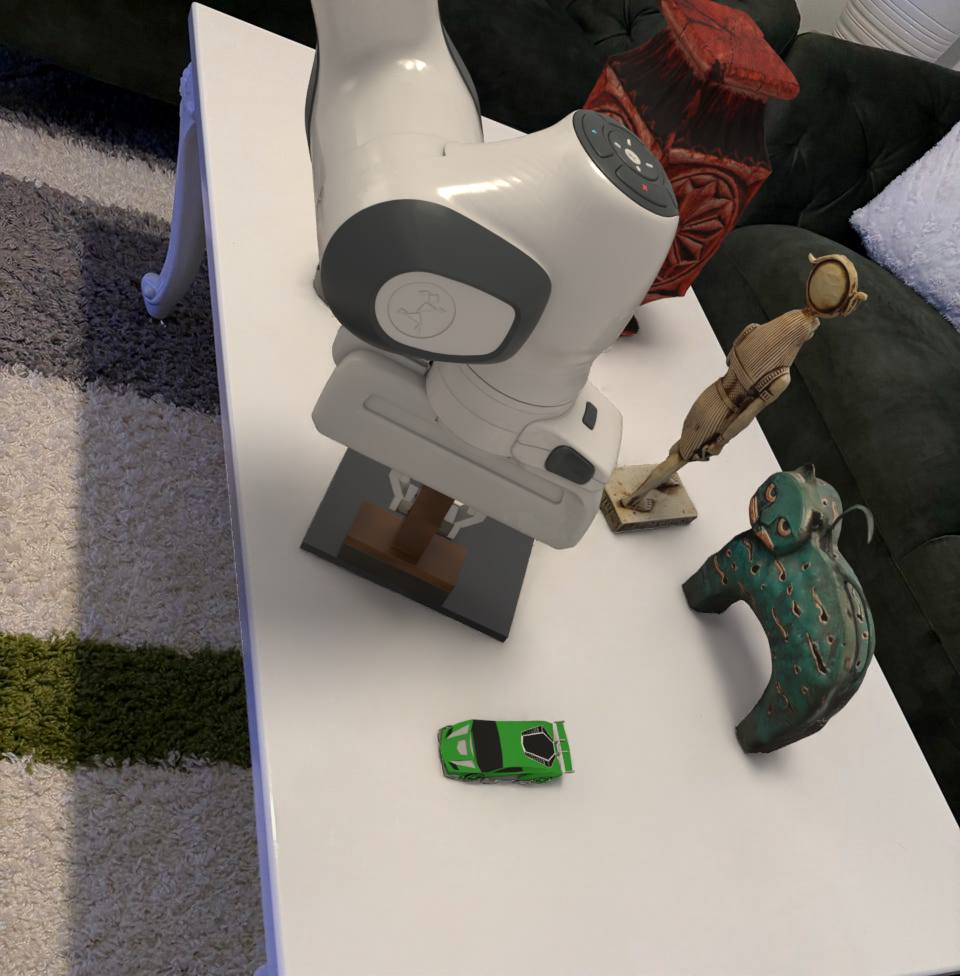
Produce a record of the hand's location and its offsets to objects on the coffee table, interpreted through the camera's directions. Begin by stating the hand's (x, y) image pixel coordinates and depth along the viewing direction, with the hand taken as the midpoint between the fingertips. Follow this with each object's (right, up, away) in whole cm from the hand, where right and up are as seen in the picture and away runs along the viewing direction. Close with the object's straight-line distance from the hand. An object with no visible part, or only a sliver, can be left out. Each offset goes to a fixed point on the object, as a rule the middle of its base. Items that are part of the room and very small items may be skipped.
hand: (423, 518), depth 68 cm
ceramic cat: (+27, -11, +17) cm, 33 cm away
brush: (-2, -3, +5) cm, 6 cm away
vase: (+15, +30, +37) cm, 50 cm away
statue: (+20, +4, +23) cm, 31 cm away
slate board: (0, +1, +10) cm, 10 cm away
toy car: (+6, -18, +2) cm, 19 cm away
